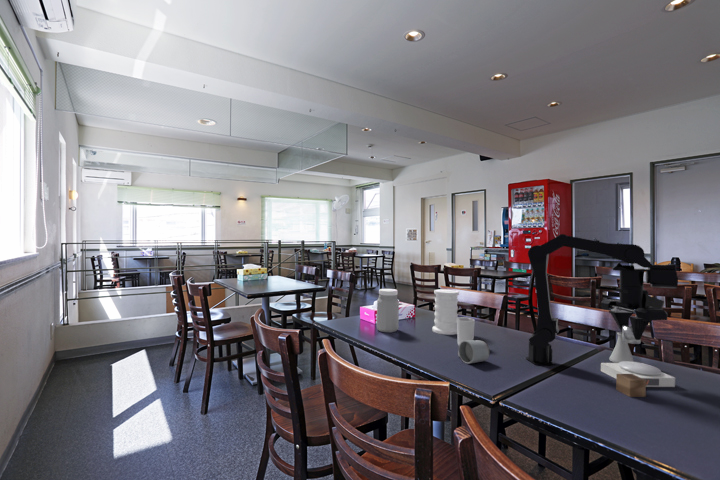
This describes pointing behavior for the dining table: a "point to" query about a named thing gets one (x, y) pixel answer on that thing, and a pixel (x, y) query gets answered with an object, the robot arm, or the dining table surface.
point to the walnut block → (631, 385)
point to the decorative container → (445, 311)
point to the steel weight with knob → (629, 335)
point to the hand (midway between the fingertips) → (631, 337)
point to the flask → (621, 351)
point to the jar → (387, 310)
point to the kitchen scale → (639, 373)
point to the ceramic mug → (473, 351)
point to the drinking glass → (465, 329)
